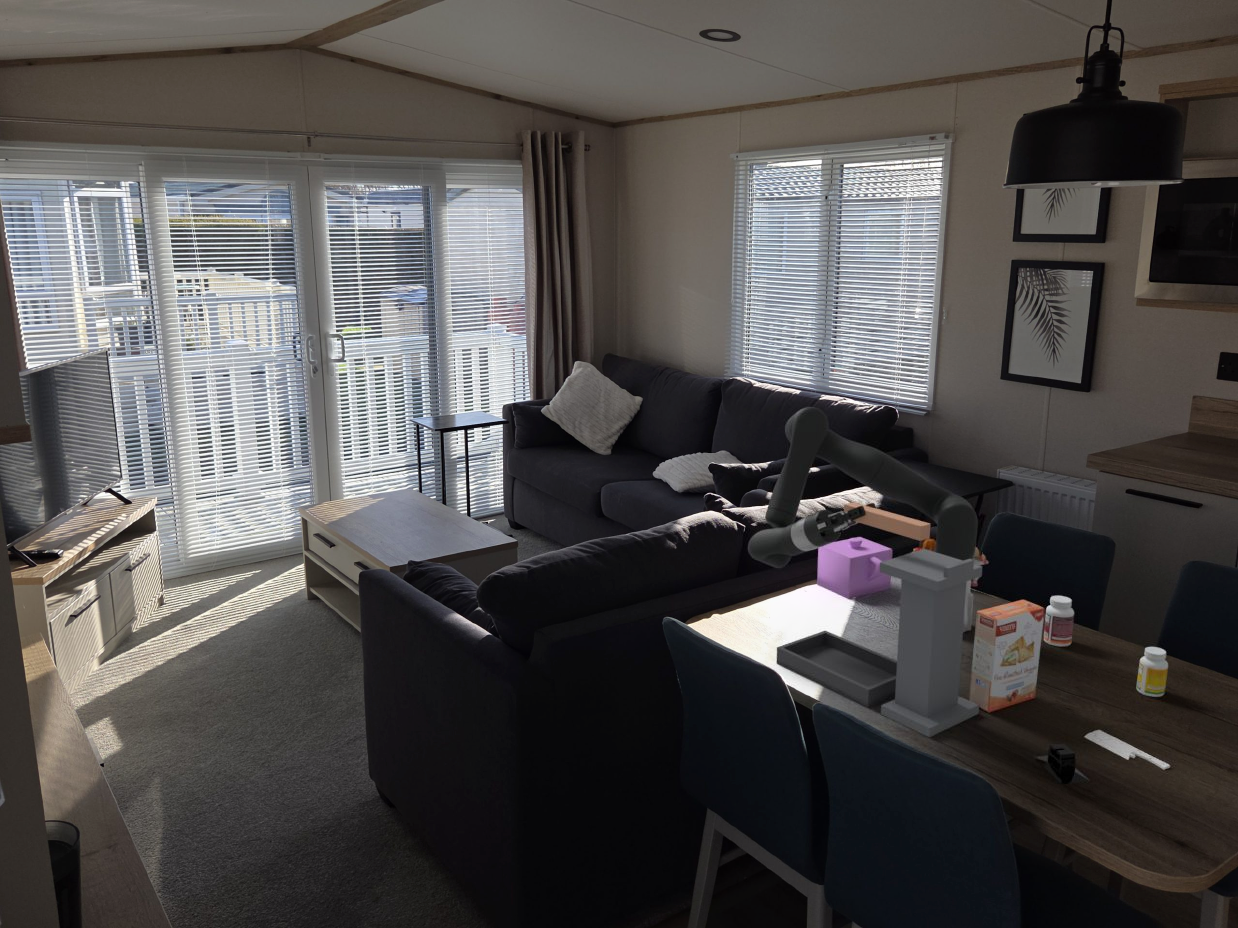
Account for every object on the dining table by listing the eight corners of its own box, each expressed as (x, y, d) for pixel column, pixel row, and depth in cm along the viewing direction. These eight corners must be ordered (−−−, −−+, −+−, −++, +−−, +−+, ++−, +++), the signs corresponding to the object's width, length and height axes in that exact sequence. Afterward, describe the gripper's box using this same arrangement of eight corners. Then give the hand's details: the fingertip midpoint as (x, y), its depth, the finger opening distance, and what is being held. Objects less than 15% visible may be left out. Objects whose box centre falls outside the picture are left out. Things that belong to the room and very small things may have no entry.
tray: (776, 663, 227) (776, 647, 226) (824, 645, 236) (825, 630, 235) (867, 707, 206) (868, 689, 205) (916, 686, 215) (917, 669, 214)
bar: (843, 517, 212) (844, 504, 211) (853, 515, 214) (853, 502, 213) (920, 540, 196) (920, 526, 195) (929, 537, 198) (930, 523, 197)
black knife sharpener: (1024, 756, 187) (1026, 734, 186) (1059, 752, 188) (1061, 730, 187) (1063, 791, 175) (1065, 767, 174) (1100, 787, 176) (1102, 763, 175)
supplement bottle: (1130, 689, 212) (1135, 648, 210) (1147, 684, 214) (1152, 643, 212) (1153, 699, 207) (1158, 657, 205) (1170, 694, 209) (1175, 652, 207)
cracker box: (990, 714, 202) (997, 619, 197) (967, 702, 207) (974, 609, 202) (1037, 699, 208) (1046, 606, 203) (1014, 687, 213) (1022, 597, 208)
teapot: (841, 568, 290) (843, 522, 286) (903, 594, 268) (905, 545, 265) (800, 577, 283) (802, 530, 279) (860, 605, 261) (863, 555, 258)
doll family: (987, 584, 274) (990, 539, 271) (979, 595, 266) (982, 549, 263) (911, 571, 285) (914, 528, 282) (901, 581, 278) (904, 537, 275)
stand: (869, 708, 205) (877, 554, 197) (918, 687, 214) (927, 538, 206) (929, 737, 193) (939, 574, 185) (978, 713, 202) (990, 557, 194)
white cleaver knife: (1151, 776, 179) (1152, 770, 179) (1081, 739, 193) (1082, 734, 192) (1169, 768, 182) (1170, 763, 181) (1099, 733, 195) (1099, 728, 194)
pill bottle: (1076, 643, 235) (1081, 600, 233) (1061, 649, 232) (1065, 605, 229) (1053, 634, 240) (1057, 592, 238) (1037, 640, 237) (1041, 597, 234)
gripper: (787, 520, 218) (840, 497, 204) (831, 509, 226) (884, 486, 212) (799, 553, 217) (853, 531, 203) (842, 540, 225) (897, 519, 211)
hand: (869, 508), depth 208 cm, fingers closed on bar, 3 cm apart
